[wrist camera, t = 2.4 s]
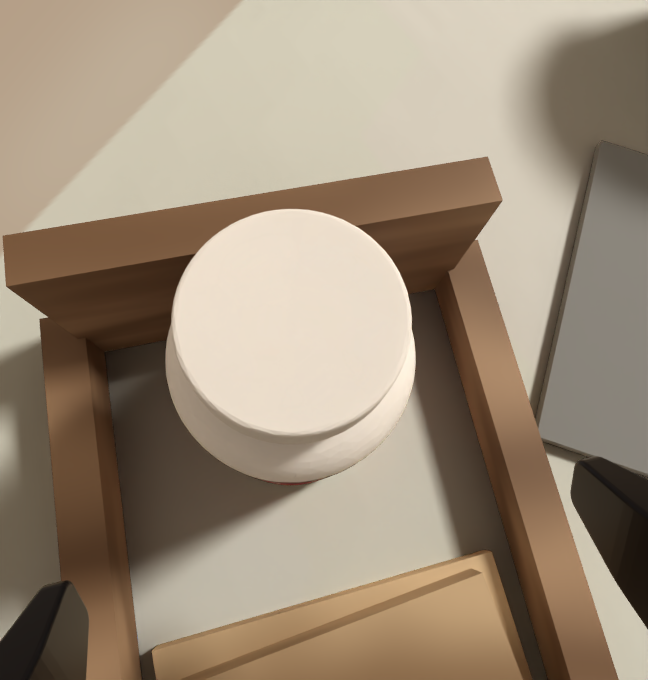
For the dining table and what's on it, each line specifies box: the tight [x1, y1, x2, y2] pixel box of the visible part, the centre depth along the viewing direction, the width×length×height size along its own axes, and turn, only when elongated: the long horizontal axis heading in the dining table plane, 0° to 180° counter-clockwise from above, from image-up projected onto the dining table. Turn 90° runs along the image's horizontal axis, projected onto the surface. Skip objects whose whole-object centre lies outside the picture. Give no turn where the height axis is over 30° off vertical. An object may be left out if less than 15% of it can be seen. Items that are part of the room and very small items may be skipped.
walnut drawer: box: [3, 157, 619, 680], centre depth 16 cm, size 18×16×7 cm
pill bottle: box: [165, 209, 416, 485], centre depth 16 cm, size 6×6×11 cm
